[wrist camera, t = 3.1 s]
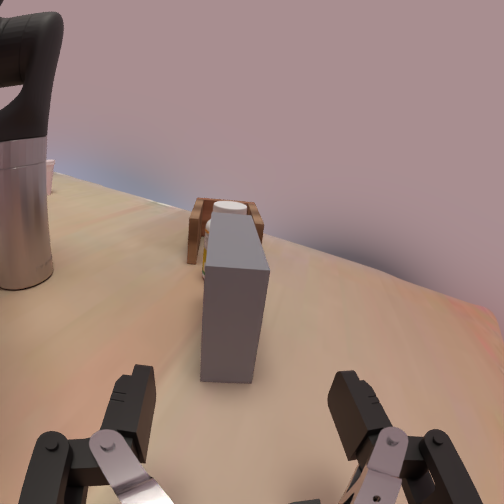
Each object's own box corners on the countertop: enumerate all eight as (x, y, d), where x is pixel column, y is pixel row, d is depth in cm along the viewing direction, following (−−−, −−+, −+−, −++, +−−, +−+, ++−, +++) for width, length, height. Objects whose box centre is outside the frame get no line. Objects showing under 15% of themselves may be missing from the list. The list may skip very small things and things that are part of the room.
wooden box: (258, 268, 44) (264, 224, 41) (187, 263, 42) (189, 218, 40) (250, 237, 56) (254, 202, 53) (194, 233, 54) (197, 197, 52)
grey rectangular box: (251, 384, 23) (270, 270, 19) (200, 381, 22) (205, 265, 19) (240, 301, 35) (251, 215, 31) (205, 298, 34) (211, 212, 31)
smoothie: (34, 193, 72) (34, 146, 67) (53, 191, 76) (54, 144, 71) (36, 197, 68) (35, 147, 63) (56, 194, 72) (56, 145, 67)
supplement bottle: (201, 286, 37) (206, 208, 33) (202, 267, 42) (207, 197, 38) (245, 289, 38) (255, 212, 34) (242, 270, 43) (250, 201, 39)
